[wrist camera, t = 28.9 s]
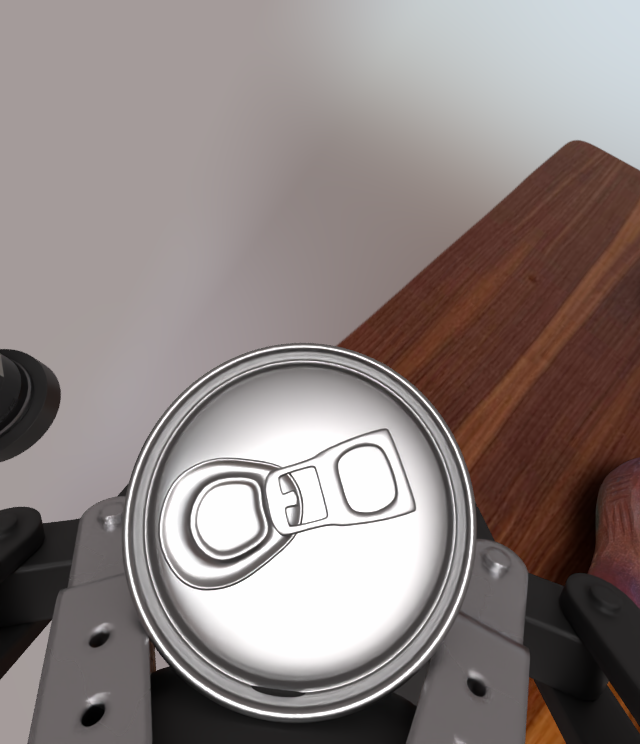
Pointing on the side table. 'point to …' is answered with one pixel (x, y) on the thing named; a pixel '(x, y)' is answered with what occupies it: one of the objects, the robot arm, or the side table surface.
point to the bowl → (619, 530)
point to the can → (299, 532)
